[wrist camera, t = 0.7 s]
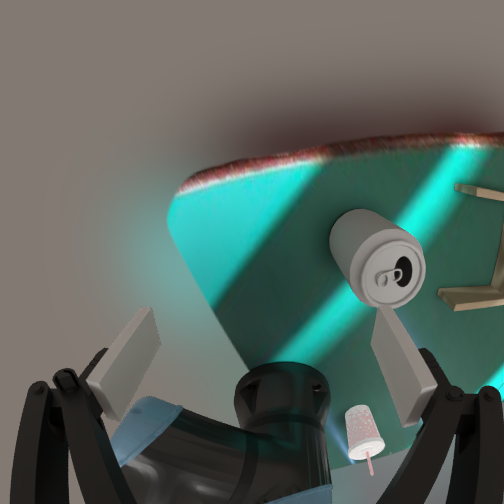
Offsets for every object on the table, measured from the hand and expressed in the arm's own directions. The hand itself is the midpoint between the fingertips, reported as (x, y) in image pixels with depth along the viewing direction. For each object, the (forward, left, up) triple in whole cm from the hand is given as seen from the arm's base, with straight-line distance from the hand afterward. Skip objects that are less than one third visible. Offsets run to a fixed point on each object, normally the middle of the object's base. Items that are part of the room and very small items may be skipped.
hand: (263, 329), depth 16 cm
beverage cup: (-32, -17, -19) cm, 41 cm away
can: (0, -11, -19) cm, 22 cm away
